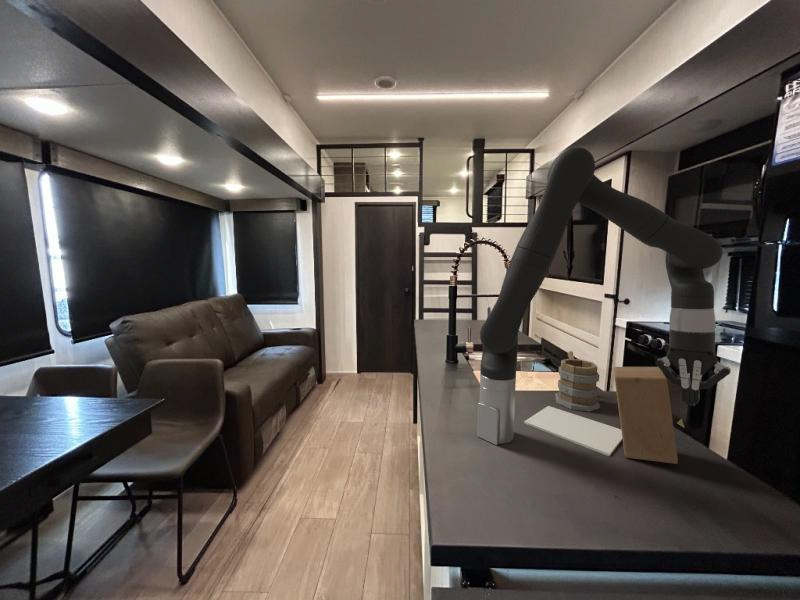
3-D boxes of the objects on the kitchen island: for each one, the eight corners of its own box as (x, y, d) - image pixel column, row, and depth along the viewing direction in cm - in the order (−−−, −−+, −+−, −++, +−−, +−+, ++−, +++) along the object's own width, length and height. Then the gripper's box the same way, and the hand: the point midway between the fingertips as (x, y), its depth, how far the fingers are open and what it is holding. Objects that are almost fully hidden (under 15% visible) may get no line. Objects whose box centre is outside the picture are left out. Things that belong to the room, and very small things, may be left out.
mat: (609, 456, 79) (609, 454, 79) (524, 423, 95) (524, 421, 95) (627, 433, 89) (627, 431, 89) (548, 407, 106) (548, 405, 106)
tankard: (602, 413, 101) (606, 367, 100) (558, 408, 105) (560, 363, 104) (588, 390, 120) (590, 351, 118) (551, 386, 124) (553, 348, 123)
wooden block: (678, 465, 73) (667, 377, 72) (625, 458, 78) (614, 376, 78) (670, 444, 81) (660, 366, 81) (622, 439, 86) (613, 366, 86)
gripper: (650, 328, 74) (650, 401, 75) (733, 333, 64) (731, 418, 65) (657, 323, 79) (657, 393, 80) (735, 328, 69) (734, 407, 70)
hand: (690, 404), depth 72 cm, fingers closed
